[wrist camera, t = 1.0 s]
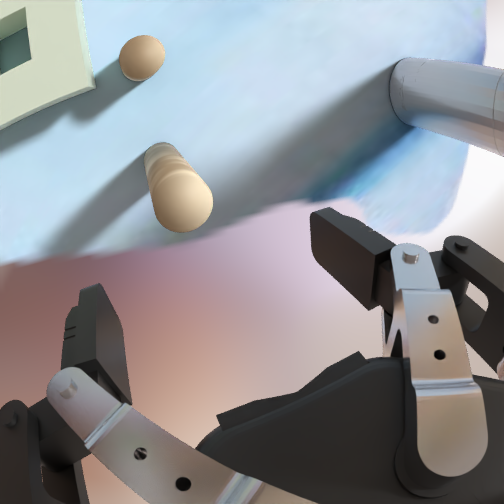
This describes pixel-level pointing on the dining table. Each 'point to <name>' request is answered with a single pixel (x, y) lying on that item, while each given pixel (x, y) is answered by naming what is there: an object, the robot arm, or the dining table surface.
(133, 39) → the short dowel
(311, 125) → the dining table surface
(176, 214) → the long dowel
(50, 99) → the hole block
